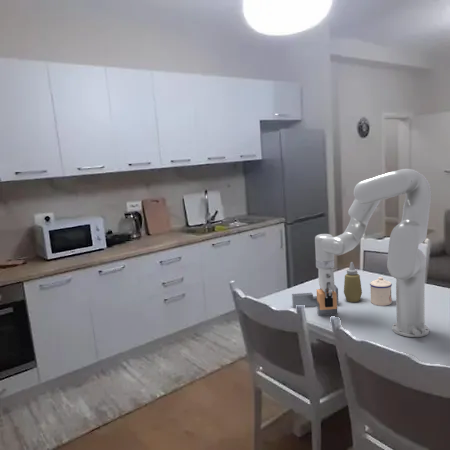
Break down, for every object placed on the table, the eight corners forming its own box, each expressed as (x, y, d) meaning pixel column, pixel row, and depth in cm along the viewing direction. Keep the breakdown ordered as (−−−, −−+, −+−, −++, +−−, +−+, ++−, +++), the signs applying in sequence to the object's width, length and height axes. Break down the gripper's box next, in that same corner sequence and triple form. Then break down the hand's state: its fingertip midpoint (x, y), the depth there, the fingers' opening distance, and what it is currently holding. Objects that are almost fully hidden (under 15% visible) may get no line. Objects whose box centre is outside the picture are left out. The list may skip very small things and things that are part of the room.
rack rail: (338, 305, 185) (337, 288, 184) (293, 308, 186) (292, 291, 184) (333, 298, 194) (332, 282, 193) (290, 301, 195) (290, 285, 194)
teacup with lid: (395, 305, 180) (394, 279, 178) (373, 306, 180) (372, 281, 179) (386, 296, 191) (386, 272, 190) (366, 297, 192) (365, 273, 190)
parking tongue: (337, 314, 175) (337, 301, 174) (318, 315, 175) (318, 303, 175) (335, 311, 178) (335, 299, 177) (317, 312, 178) (316, 300, 178)
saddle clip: (337, 308, 173) (336, 293, 172) (320, 310, 173) (319, 294, 172) (333, 303, 179) (332, 288, 178) (317, 304, 180) (316, 289, 179)
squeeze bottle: (365, 299, 190) (364, 261, 188) (357, 304, 185) (356, 265, 182) (348, 296, 196) (347, 259, 193) (340, 301, 190) (339, 263, 187)
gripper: (339, 268, 165) (340, 309, 167) (329, 258, 182) (330, 295, 185) (320, 269, 165) (322, 310, 168) (312, 259, 182) (313, 296, 185)
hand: (326, 302), depth 176 cm, fingers open, 8 cm apart
